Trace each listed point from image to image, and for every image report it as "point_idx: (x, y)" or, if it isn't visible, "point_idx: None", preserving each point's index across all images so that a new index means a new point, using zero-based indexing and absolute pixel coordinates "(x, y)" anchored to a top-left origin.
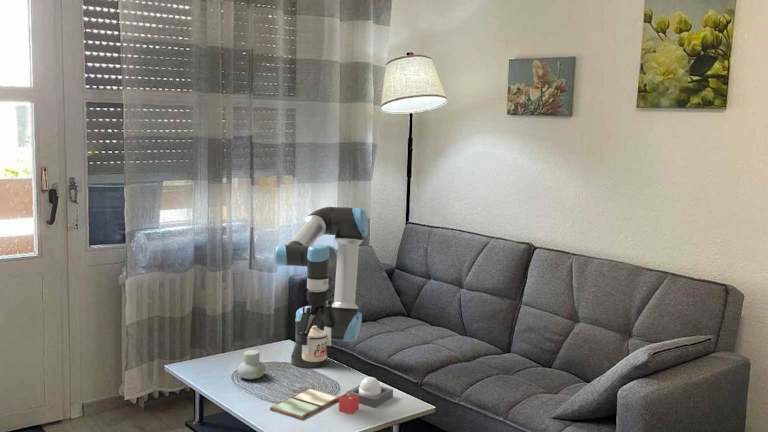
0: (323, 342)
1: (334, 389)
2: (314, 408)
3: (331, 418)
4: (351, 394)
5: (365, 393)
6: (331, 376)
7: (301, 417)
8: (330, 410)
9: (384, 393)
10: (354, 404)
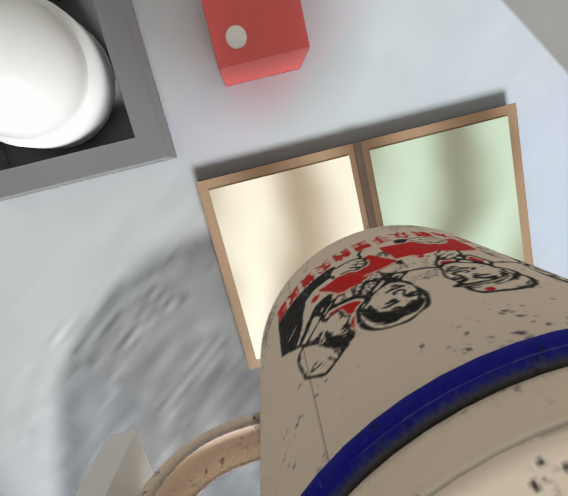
0: (498, 295)
1: (137, 307)
2: (402, 144)
3: (391, 16)
4: (218, 24)
5: (90, 43)
6: (44, 448)
7: (514, 104)
8: (327, 103)
9: None
10: None
